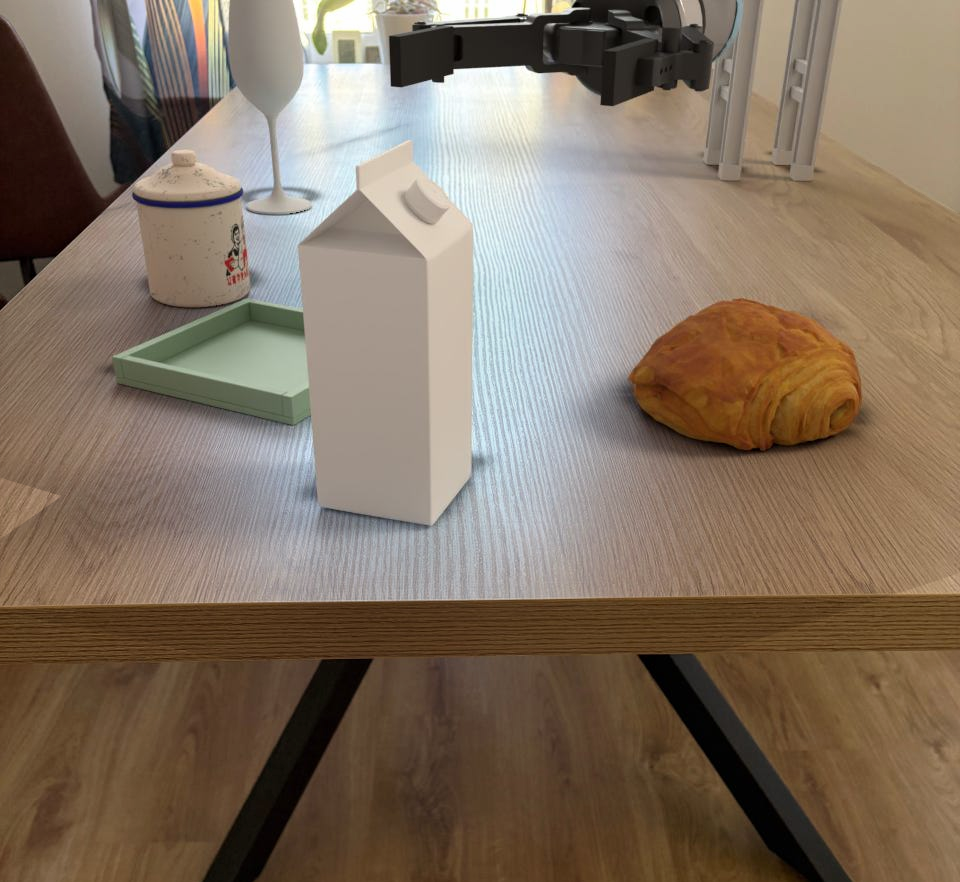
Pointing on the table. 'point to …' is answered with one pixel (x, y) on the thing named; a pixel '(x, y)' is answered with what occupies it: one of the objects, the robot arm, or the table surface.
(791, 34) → the grey tall open frame
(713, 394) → the croissant
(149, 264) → the teacup with lid
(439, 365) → the milk carton
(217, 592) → the table surface
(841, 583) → the table surface
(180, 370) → the drinks tray
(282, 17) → the wineglass
